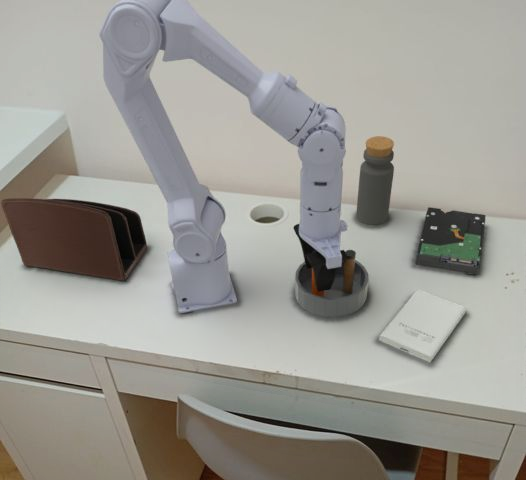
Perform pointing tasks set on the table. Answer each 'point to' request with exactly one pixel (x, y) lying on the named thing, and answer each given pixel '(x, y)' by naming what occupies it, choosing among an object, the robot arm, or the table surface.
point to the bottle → (375, 181)
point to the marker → (314, 289)
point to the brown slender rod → (349, 271)
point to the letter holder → (76, 236)
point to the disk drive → (451, 241)
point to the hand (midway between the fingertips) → (318, 277)
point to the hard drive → (423, 325)
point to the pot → (331, 293)
